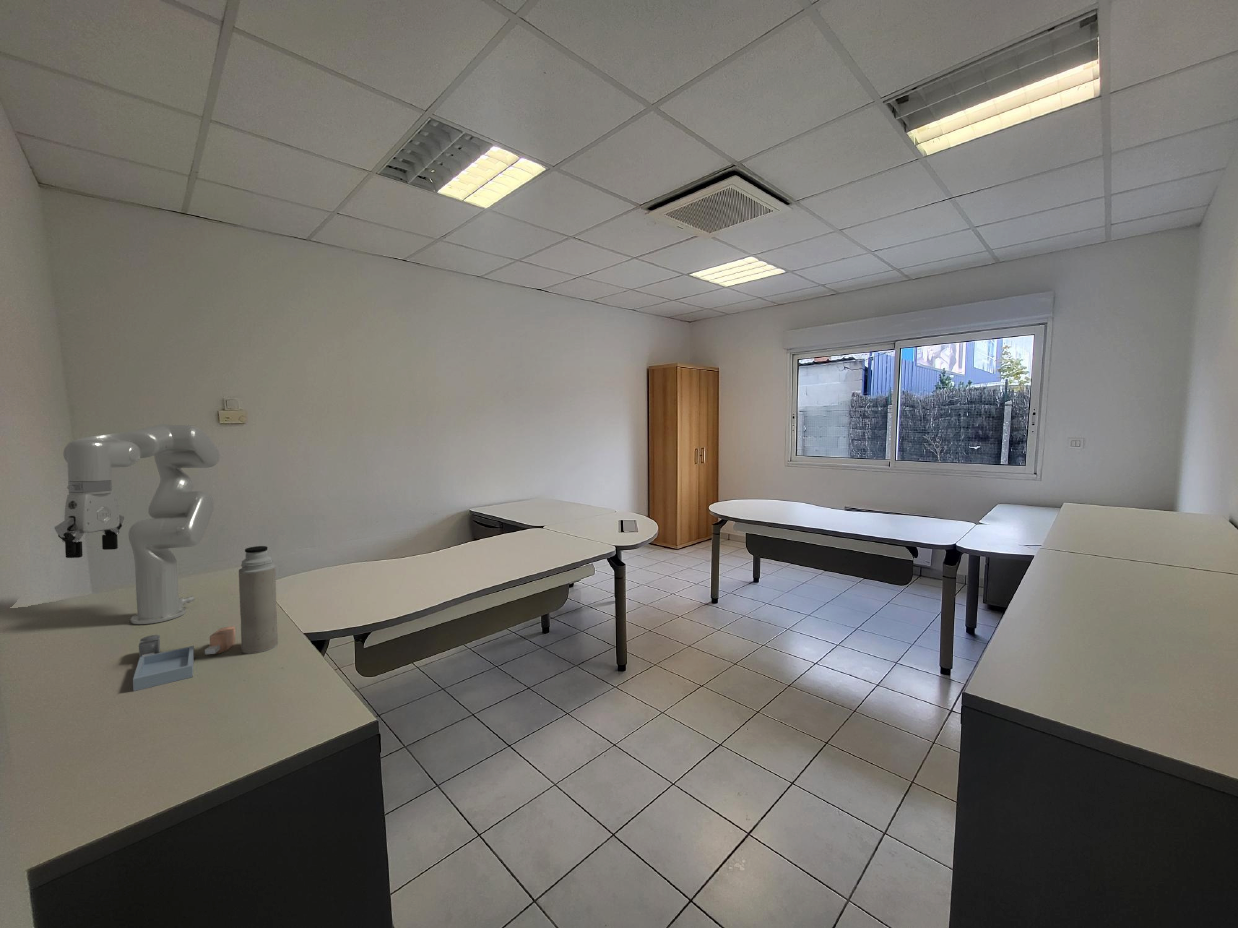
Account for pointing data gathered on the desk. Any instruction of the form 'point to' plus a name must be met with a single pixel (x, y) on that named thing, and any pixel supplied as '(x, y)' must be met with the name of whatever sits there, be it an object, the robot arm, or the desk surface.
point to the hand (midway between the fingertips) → (92, 553)
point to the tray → (164, 668)
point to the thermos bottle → (258, 601)
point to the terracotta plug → (221, 640)
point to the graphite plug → (149, 645)
